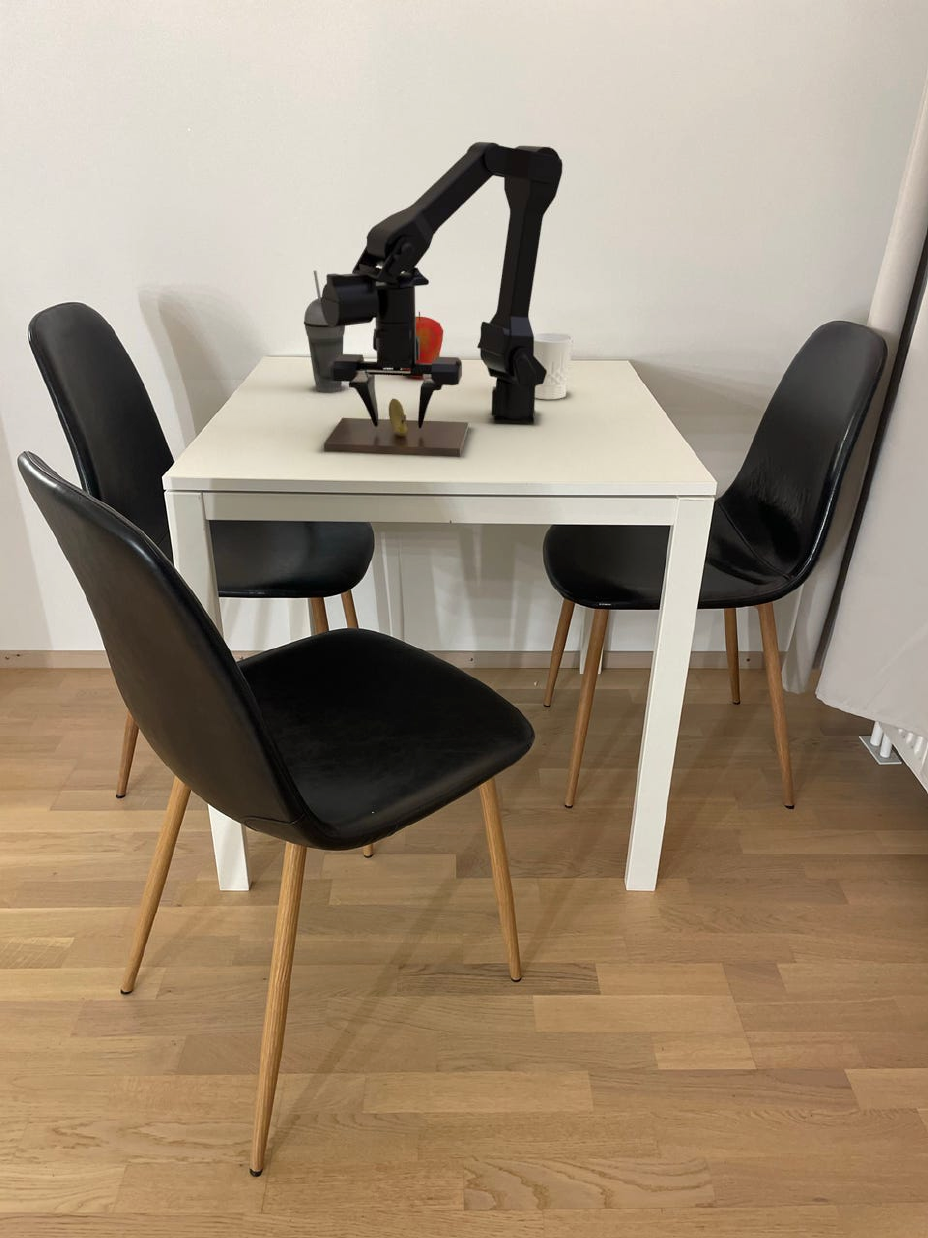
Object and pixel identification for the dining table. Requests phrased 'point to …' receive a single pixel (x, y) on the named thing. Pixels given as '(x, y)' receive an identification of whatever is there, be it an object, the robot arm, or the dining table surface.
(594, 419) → the dining table surface
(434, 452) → the walnut board
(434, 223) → the robot arm
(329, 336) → the beverage cup
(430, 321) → the apple
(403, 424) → the banana
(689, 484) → the dining table surface
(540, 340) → the white cup
